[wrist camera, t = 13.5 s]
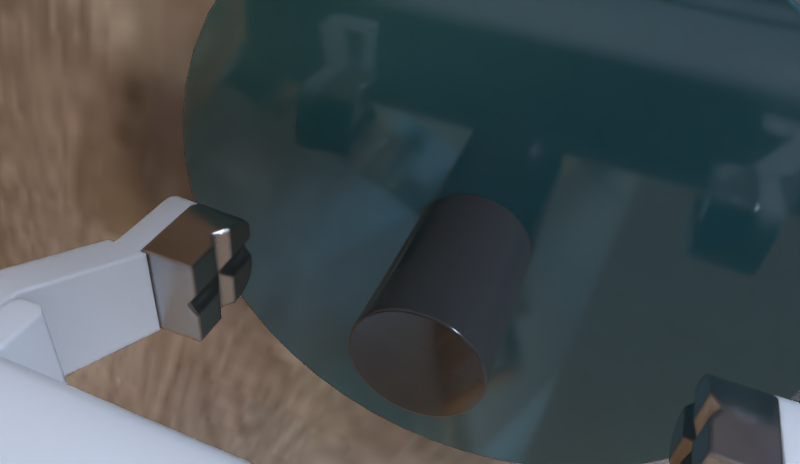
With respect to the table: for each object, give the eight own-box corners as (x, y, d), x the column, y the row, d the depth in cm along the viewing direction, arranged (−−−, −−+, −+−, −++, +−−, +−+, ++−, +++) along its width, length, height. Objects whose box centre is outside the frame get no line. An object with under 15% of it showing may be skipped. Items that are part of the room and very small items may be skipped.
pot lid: (1081, -56, 9) (1327, 88, 5) (696, 499, 17) (691, 698, 14) (184, -210, 12) (-44, -184, 8) (230, 328, 20) (127, 454, 17)
